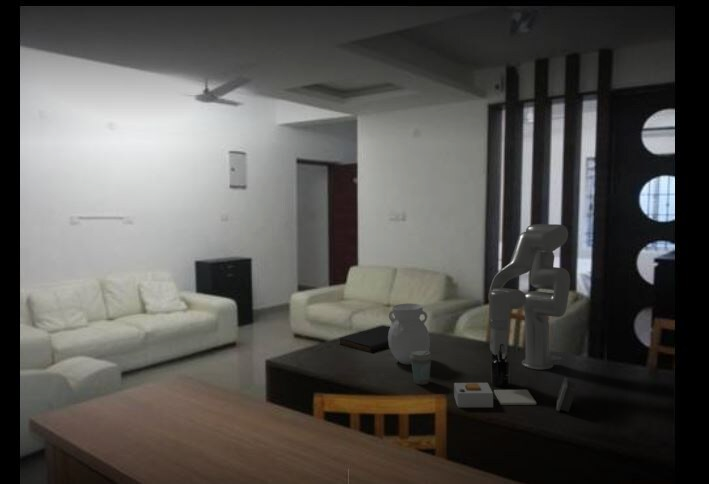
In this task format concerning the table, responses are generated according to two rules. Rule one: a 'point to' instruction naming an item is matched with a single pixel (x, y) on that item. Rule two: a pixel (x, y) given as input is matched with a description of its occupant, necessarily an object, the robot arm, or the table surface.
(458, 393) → the box
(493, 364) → the supplement bottle
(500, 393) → the pad
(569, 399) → the electrical switch
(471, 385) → the button
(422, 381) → the coffee cup
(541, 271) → the robot arm
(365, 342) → the file folder
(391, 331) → the grey vase
